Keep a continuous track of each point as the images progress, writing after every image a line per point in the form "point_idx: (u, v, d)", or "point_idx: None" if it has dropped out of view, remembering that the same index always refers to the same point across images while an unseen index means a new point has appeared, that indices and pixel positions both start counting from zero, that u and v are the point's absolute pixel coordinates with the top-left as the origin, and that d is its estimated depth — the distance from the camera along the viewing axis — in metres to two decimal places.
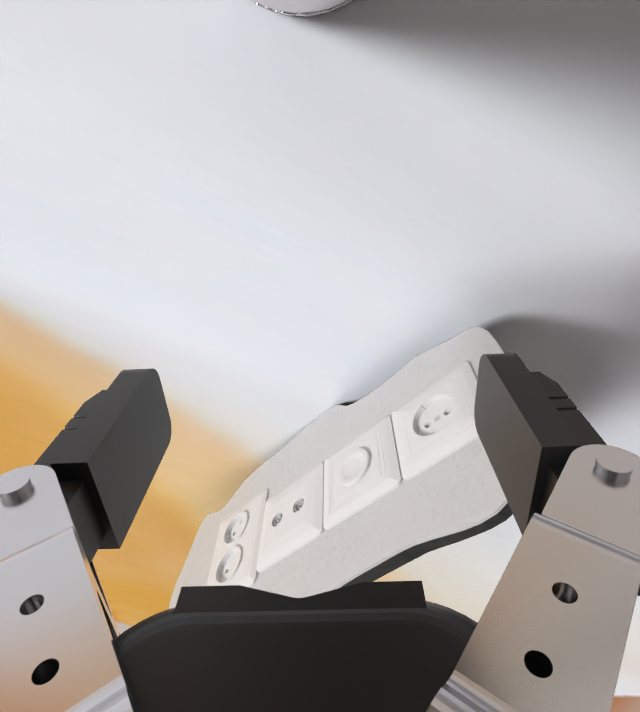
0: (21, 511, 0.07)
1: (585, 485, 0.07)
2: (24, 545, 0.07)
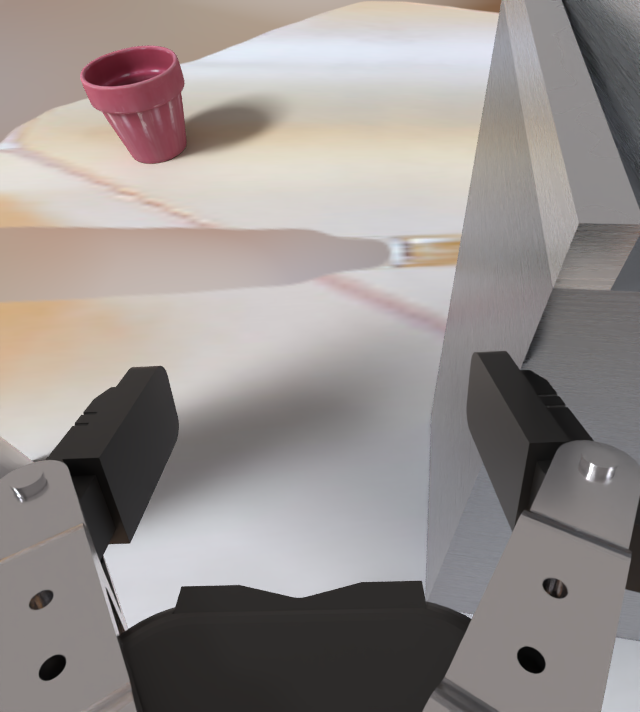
0: (34, 506, 0.07)
1: (570, 480, 0.07)
2: (40, 538, 0.07)
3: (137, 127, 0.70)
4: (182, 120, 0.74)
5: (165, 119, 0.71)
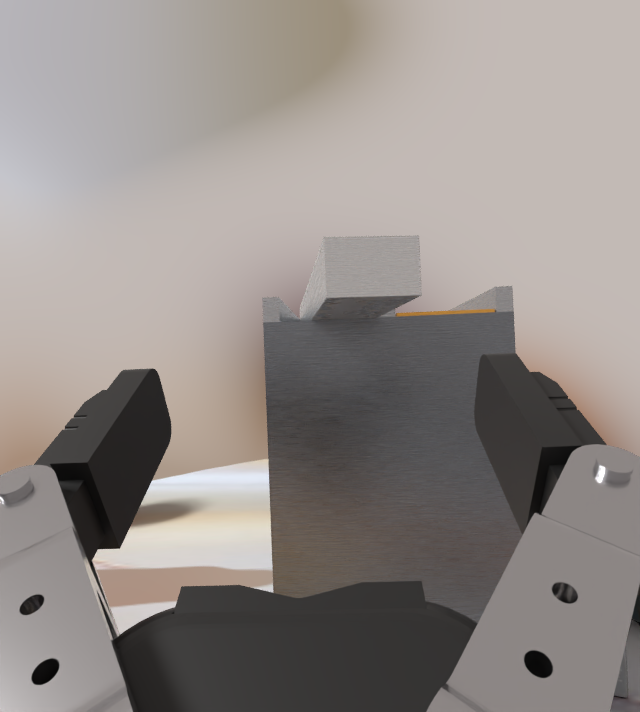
0: (22, 511, 0.07)
1: (585, 485, 0.07)
2: (24, 545, 0.07)
3: None
4: None
5: None
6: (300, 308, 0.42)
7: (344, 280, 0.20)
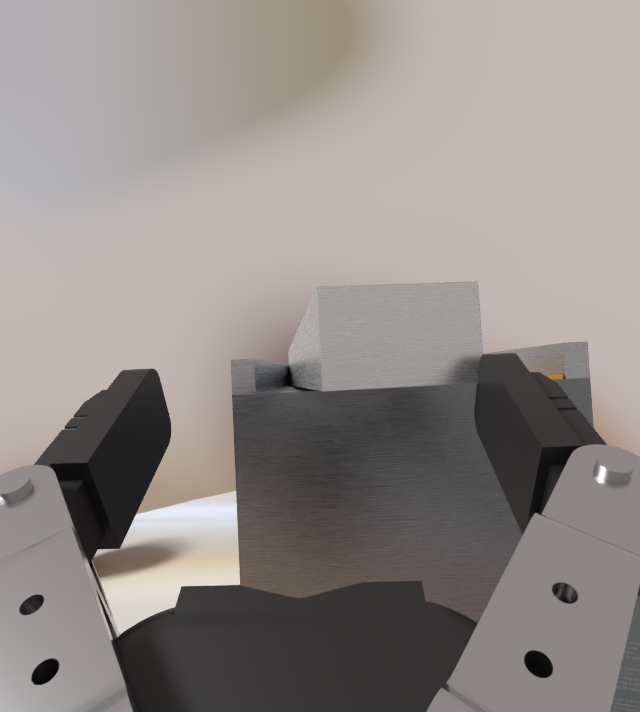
0: (21, 511, 0.07)
1: (585, 485, 0.07)
2: (24, 545, 0.07)
3: None
4: None
5: None
6: None
7: (353, 360, 0.11)
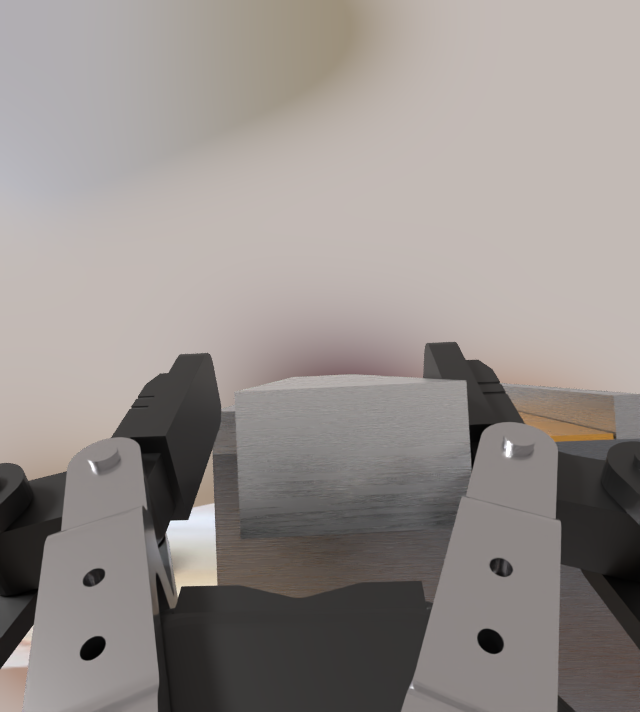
0: (105, 481, 0.08)
1: (490, 457, 0.08)
2: (126, 506, 0.07)
3: None
4: None
5: None
6: None
7: (284, 496, 0.08)
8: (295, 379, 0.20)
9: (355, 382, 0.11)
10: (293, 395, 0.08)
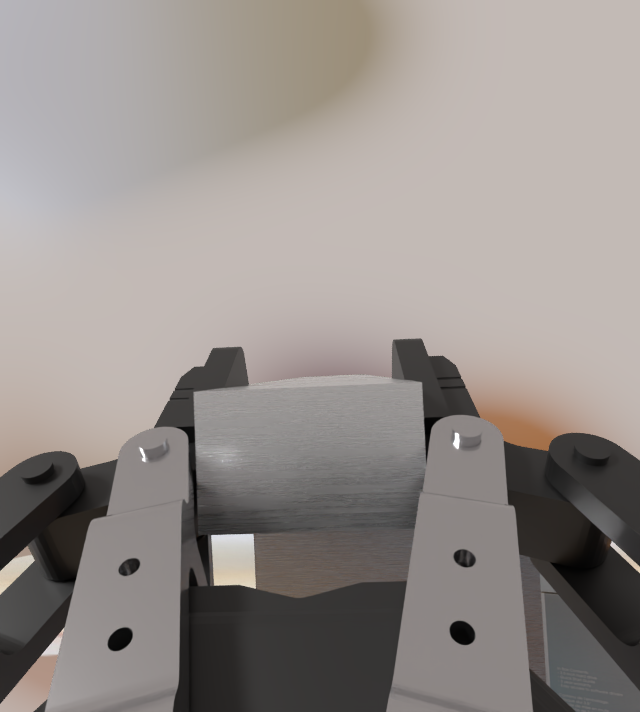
0: (153, 469, 0.08)
1: (437, 448, 0.08)
2: (181, 491, 0.07)
3: None
4: None
5: None
6: None
7: (241, 493, 0.08)
8: (295, 379, 0.20)
9: None
10: (250, 395, 0.08)
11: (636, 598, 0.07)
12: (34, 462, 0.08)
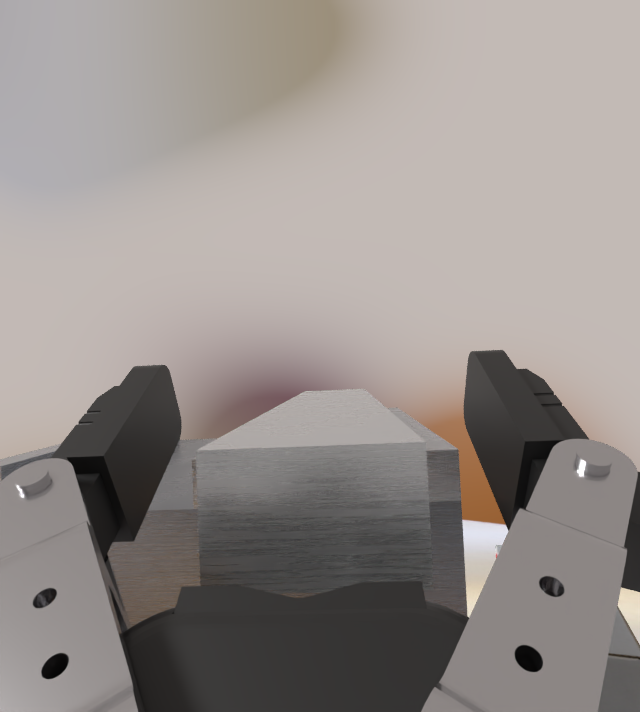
0: (39, 504, 0.07)
1: (565, 478, 0.07)
2: (45, 535, 0.07)
3: None
4: None
5: None
6: None
7: (243, 553, 0.08)
8: (297, 402, 0.20)
9: (330, 428, 0.11)
10: (253, 454, 0.08)
11: None
12: None
